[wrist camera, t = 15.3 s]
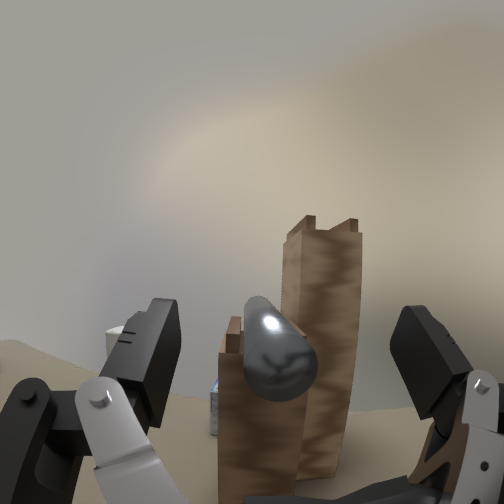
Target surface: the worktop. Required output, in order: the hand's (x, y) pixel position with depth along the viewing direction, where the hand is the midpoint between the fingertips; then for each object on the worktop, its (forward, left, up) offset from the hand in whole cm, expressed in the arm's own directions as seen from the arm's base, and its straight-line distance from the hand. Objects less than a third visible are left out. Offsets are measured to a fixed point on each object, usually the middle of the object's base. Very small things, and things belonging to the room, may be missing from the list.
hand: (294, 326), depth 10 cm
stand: (-8, -28, -25) cm, 38 cm away
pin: (0, -14, -4) cm, 15 cm away
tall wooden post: (0, -16, -25) cm, 30 cm away
